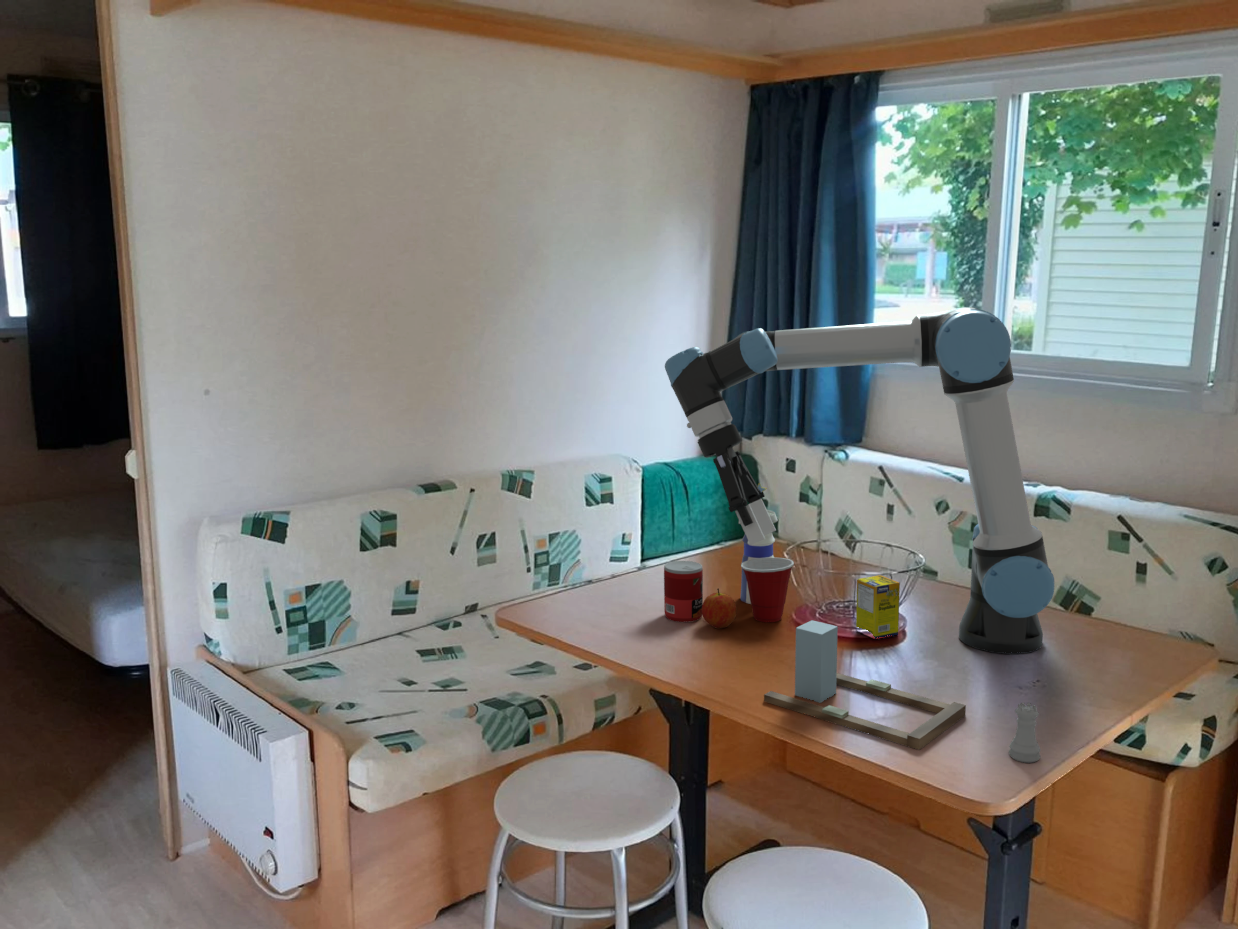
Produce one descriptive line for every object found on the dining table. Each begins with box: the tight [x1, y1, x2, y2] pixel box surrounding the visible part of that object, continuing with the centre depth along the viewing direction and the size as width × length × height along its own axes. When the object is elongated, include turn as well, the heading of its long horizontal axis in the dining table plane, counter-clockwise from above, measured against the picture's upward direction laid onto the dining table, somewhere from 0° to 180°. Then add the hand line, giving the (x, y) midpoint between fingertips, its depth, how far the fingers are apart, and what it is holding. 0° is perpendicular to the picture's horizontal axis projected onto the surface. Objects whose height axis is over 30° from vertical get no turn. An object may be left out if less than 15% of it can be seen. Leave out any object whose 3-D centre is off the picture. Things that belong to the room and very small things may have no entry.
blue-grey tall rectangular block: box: [794, 619, 839, 704], centre depth 180 cm, size 5×5×12 cm
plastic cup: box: [740, 556, 795, 623], centre depth 219 cm, size 11×11×12 cm
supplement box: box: [855, 574, 901, 639], centre depth 208 cm, size 6×6×11 cm
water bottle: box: [738, 482, 779, 605], centre depth 230 cm, size 8×9×25 cm
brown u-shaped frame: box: [763, 672, 967, 751], centre depth 175 cm, size 28×16×2 cm, turn 48°
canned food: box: [663, 560, 704, 623], centre depth 220 cm, size 8×8×11 cm
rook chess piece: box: [1008, 702, 1042, 764], centre depth 157 cm, size 4×4×8 cm
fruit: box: [702, 588, 738, 629], centre depth 214 cm, size 7×7×8 cm
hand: (763, 537), depth 192 cm, fingers open, 13 cm apart
